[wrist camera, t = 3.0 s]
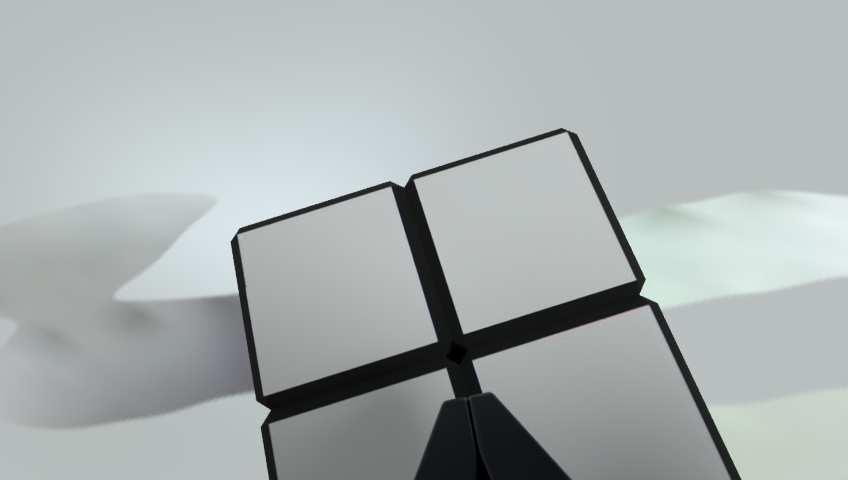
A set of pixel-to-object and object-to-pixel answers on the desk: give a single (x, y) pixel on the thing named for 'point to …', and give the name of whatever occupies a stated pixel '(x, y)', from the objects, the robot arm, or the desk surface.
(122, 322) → the desk surface
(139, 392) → the desk surface
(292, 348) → the puzzle cube
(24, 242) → the desk surface
